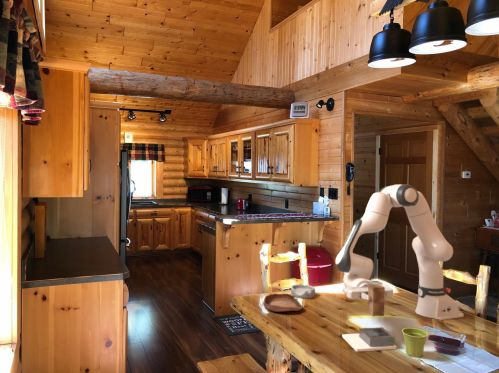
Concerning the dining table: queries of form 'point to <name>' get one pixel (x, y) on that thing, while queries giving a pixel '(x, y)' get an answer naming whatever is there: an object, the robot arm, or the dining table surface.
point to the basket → (281, 303)
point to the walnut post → (376, 299)
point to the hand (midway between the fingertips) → (377, 298)
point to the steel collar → (376, 336)
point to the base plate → (363, 343)
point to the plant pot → (414, 341)
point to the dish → (303, 291)
